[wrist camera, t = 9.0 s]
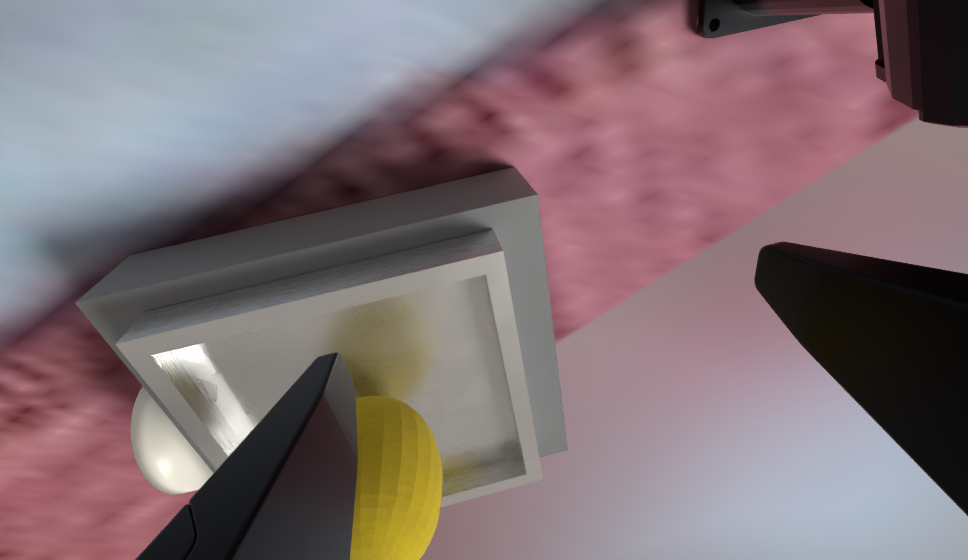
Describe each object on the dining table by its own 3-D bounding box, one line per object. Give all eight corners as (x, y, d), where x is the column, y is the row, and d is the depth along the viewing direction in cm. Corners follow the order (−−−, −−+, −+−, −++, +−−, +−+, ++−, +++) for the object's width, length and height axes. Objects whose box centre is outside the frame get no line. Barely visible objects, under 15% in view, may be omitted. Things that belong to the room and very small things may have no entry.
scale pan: (493, 229, 18) (503, 250, 16) (533, 448, 25) (543, 479, 23) (143, 312, 17) (114, 344, 15) (289, 513, 24) (281, 550, 23)
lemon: (286, 385, 19) (223, 588, 12) (405, 339, 19) (409, 518, 12) (348, 459, 22) (326, 657, 15) (452, 420, 22) (477, 601, 15)
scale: (514, 166, 21) (552, 212, 16) (547, 400, 29) (579, 479, 24) (107, 260, 20) (6, 342, 15) (262, 474, 28) (232, 574, 23)
